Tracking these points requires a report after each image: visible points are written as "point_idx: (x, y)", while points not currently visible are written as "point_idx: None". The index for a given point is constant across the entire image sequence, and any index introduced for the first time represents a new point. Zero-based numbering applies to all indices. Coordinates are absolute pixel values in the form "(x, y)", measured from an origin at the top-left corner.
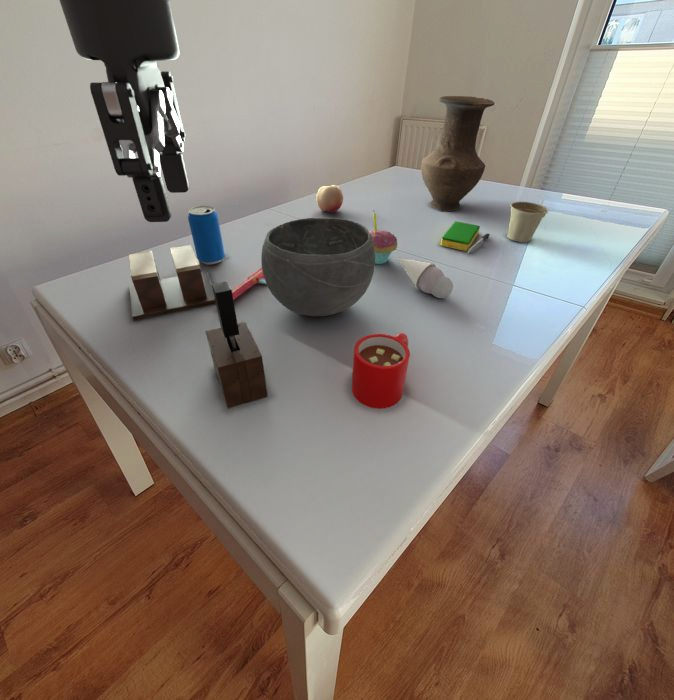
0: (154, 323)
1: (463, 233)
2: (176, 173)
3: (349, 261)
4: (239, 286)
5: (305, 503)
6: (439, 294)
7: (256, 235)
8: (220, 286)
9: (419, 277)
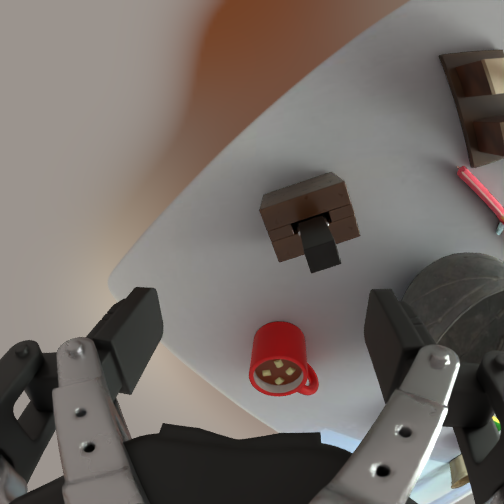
0: (434, 81)
1: None
2: (378, 347)
3: None
4: (489, 200)
5: (156, 271)
6: None
7: None
8: (325, 255)
9: None
